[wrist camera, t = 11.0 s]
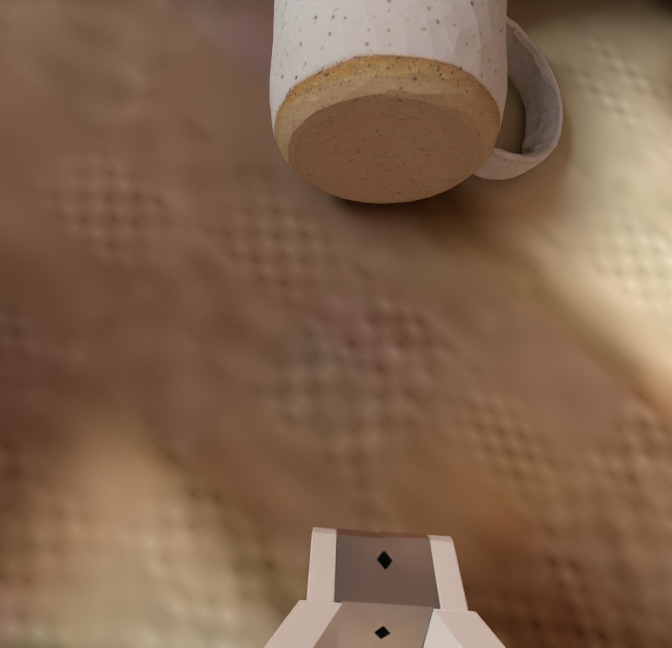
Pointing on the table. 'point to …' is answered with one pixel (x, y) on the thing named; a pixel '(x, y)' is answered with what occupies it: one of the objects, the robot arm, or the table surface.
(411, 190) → the ceramic mug
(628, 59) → the table surface
